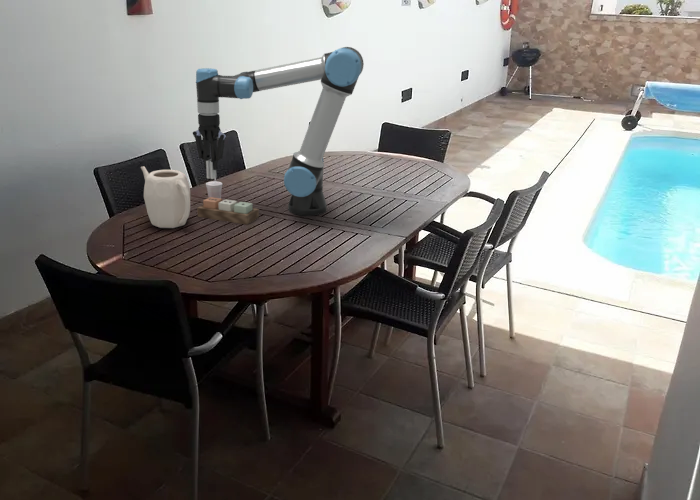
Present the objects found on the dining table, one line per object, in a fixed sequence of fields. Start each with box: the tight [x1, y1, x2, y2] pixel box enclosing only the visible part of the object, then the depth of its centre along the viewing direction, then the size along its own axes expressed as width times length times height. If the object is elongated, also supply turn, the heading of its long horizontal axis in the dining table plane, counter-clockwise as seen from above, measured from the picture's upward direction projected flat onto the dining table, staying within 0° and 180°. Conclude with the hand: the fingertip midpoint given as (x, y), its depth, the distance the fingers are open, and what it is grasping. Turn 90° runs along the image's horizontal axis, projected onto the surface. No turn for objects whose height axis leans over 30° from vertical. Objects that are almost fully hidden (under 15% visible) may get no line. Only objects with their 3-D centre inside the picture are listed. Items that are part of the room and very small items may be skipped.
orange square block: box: [202, 197, 223, 209], centre depth 229 cm, size 5×5×4 cm
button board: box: [196, 204, 260, 226], centre depth 228 cm, size 21×9×4 cm, turn 70°
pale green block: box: [234, 201, 254, 214], centre depth 225 cm, size 5×5×4 cm
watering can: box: [140, 166, 191, 229], centre depth 216 cm, size 16×27×19 cm, turn 52°
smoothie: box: [205, 177, 223, 199], centre depth 237 cm, size 6×6×14 cm
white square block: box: [218, 198, 238, 212], centre depth 227 cm, size 5×5×4 cm
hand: (211, 177), depth 225 cm, fingers closed
